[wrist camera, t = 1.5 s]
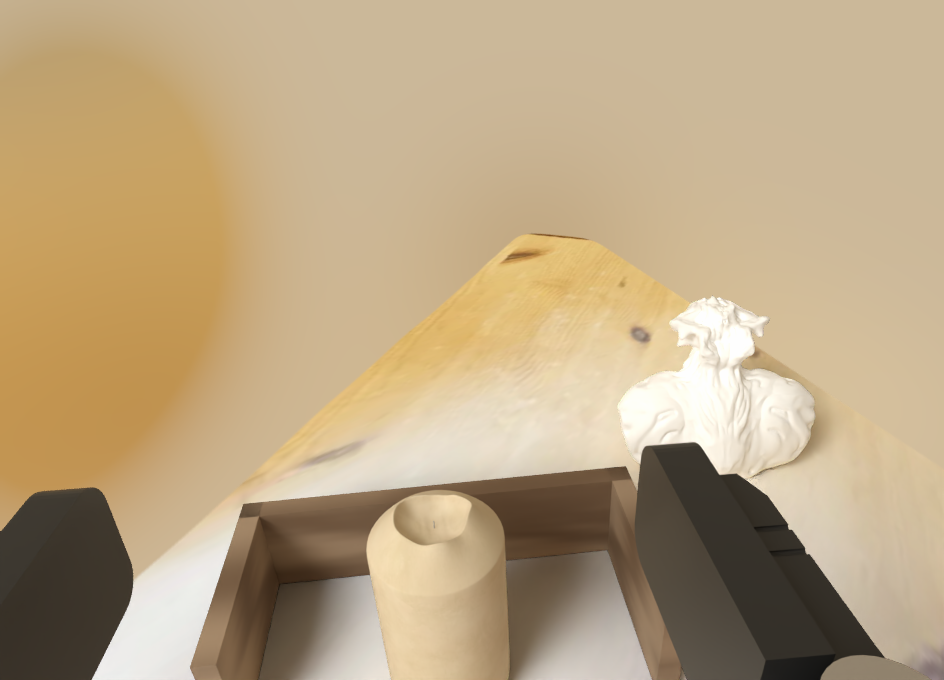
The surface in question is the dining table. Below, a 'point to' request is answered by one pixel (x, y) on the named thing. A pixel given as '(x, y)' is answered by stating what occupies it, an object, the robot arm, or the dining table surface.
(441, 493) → the candle
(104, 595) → the robot arm
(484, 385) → the dining table surface
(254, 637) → the wooden frame
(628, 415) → the bust
